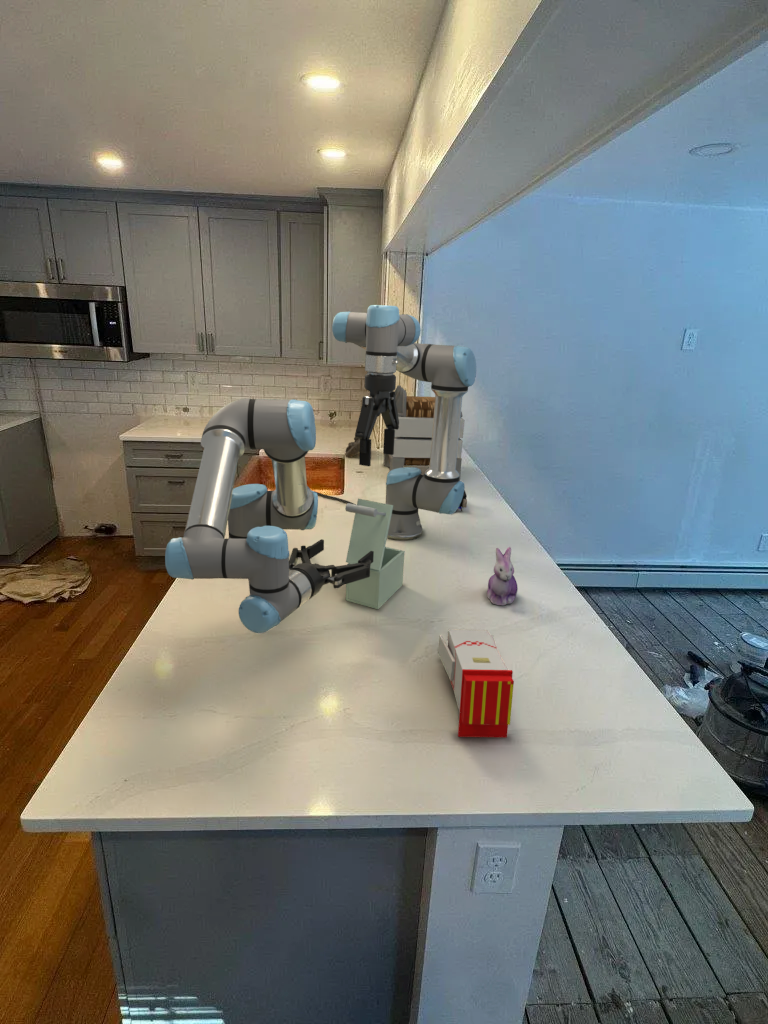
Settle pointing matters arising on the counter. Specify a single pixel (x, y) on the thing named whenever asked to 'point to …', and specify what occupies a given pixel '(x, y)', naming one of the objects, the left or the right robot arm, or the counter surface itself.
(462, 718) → the toy
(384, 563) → the chest
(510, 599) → the figurine
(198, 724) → the counter surface
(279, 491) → the left robot arm
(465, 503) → the figurine character
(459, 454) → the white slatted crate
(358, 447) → the fossil
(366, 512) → the lid
